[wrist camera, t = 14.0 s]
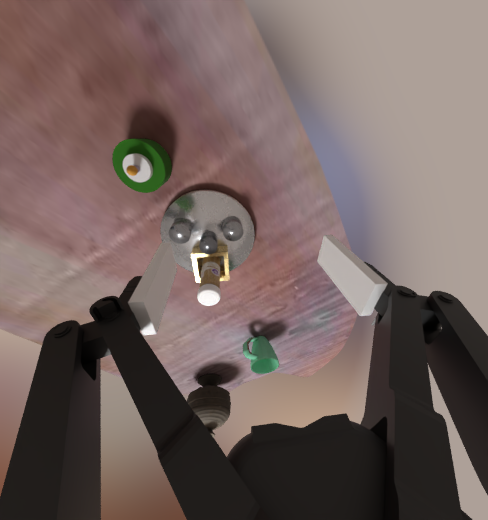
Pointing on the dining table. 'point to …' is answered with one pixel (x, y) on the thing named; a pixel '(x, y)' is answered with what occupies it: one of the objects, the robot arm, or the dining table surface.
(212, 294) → the sprinkles bottle
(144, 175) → the candle
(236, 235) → the carrier
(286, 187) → the dining table surface
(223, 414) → the pot
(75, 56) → the dining table surface
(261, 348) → the mug
